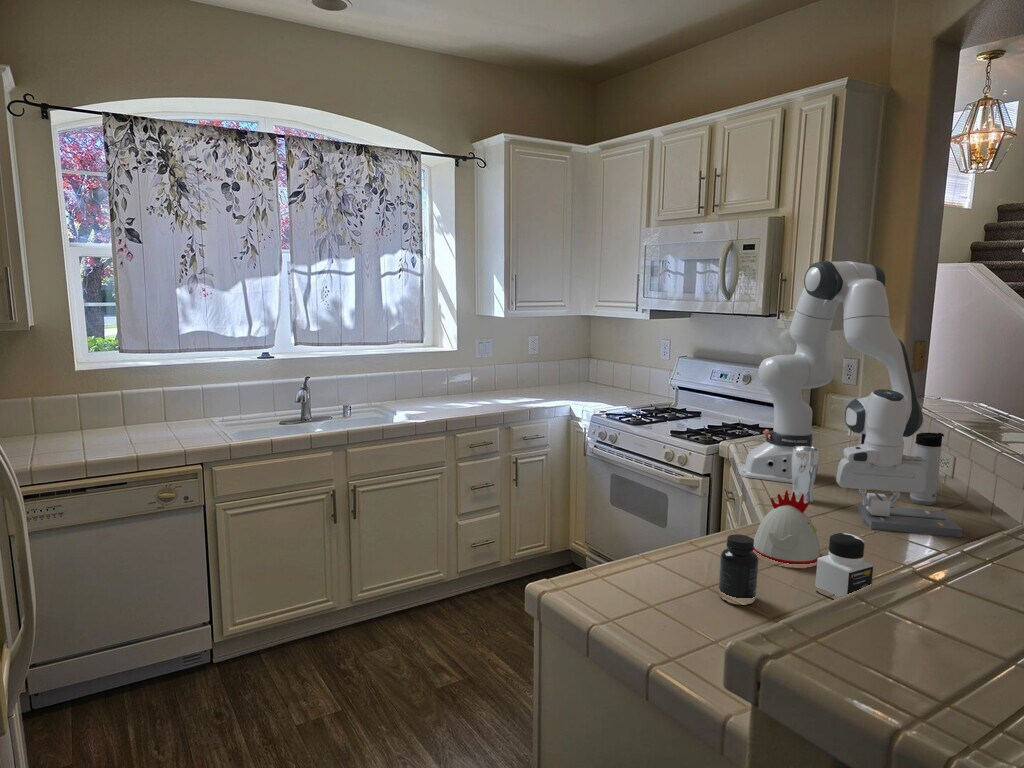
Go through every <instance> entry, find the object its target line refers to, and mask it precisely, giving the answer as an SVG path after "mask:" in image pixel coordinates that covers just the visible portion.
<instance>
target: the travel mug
mask: <svg viewBox="0 0 1024 768" xmlns="http://www.w3.org/2000/svg"><path fill="white" fill-rule="evenodd" d="M915 436H916V437H915V442H914V443H915V445H914V449H913V450H914V453H913V457H916V456H919V457H922V458H923V459H925V460H926V461H927V463H928V468H927V472H926V473H925V476H926V490H925V491H924V492H923V493H922V494H919V493H909V501H910V502H911V503H913V502H914V503H913V504H916V503H917V504H916V505H920V504H921V505H920V506H933V505H936V502H937V499H936V498H937V491H938V482H939V474H940V465H941V457H942V456H941V454H942V445H943V444H942V441H943V437H945V433H942V432H920V433H917V434H916V435H915ZM922 461H923V460H922Z"/></svg>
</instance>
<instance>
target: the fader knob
mask: <svg viewBox="0 0 1024 768" xmlns="http://www.w3.org/2000/svg"><path fill="white" fill-rule="evenodd" d="M866 498H870V500H871V503H870V506H866V508H867V510H868V511H869V512H870V513H871V514H872V515H878V516H889V515H890V504H891V501H890V498H888V497H887V496H886V495H885V494H884V493H877V492H873V493H872V492H867V493H866Z"/></svg>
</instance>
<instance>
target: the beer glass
mask: <svg viewBox="0 0 1024 768" xmlns="http://www.w3.org/2000/svg"><path fill="white" fill-rule="evenodd" d="M819 457H820V456H819V449H818V448H817V447H813V446H812V447H809V446H794V447H793V453H792V460H791V472H792V480H793V483H792V489H791V494H790V497H789V500H791V498H792V494H793V492H795V496H796V501H797V502H799V500H800V498H801V496H802V494H804V503H805V504H806V503H807V502H809V501H810V500H811V501H810V503H809V504H812V503H814V502H813V501H814V499H815V498H814V486H815V482H816V479H817V474H818V470H819Z"/></svg>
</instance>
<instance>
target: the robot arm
mask: <svg viewBox="0 0 1024 768" xmlns="http://www.w3.org/2000/svg"><path fill="white" fill-rule="evenodd" d="M803 284H804V285H803V286H804V288H803V290H802V292H801V294H800V296H799V298H798V301H797V304H796V307H795V311H794V314H793V316H792V320H791V323H790V327H789V331H788V332H789V336H790V338H791V339H792V340H793V341H794V342H795V343H796V350H795V351H794V354H793V353H791V354H777V355H773V356H769V357H767V358H764V359H763V360H762V361H761V363H760V364H759V366H758V370H757V373H758V374H757V375H758V380H759V381H760V383H761V385H762V386H764V387H765V388H766V389H767V390H768V392H769V394H770V397H771V399H772V403H773V411H774V412H773V429H772V430H769V429H767V428H766V429H764V430H763V434H764V436H765V442H762V443H761V444H759V445H758V446H756V447H755V448H753V449H751V450H750V451H749V452H748V454H747V456H746V460H745V463H742V464H740V465H739V466H738V469H737V471H738V473H739V475H741V476H743V477H745V478H749V479H750V478H751V479H758V480H767V481H773V482H780V483H781V482H782V483H788V484H790V483H791V484H793V480H792V472H791V460H792V453H793V447H794V446H809V447H813V434H812V424H813V409H812V407H811V406H810V404H808V403H807V402H805V400H804V399H803V395H802V390H805V389H816V388H820V387H823V386H826V385H828V384H830V383H831V382H832V381H833V379H834V376H835V365H834V362H833V361H832V360H831V358H830V357H829V355H828V339H829V336H830V332H831V329H832V326H833V323H834V320H835V316H836V313H837V309H838V306H839V304H840V303H841V304H842V307H843V320H842V321H843V335H844V338H845V341H846V343H847V345H849V347H851V348H853V349H854V350H855V351H856V352H858V353H861V354H863V355H866V356H867V357H870V358H873V359H876V360H877V361H878V362H881V364H883V365H884V366H885V367H886V369H887V371H888V376H889V380H890V385H891V389H885V388H884V389H882V388H881V389H880V388H879V389H875V390H873V391H871V393H869V395H868V396H865V397H859V398H854V399H852V400H851V401H850V402H849V403H848V404H847V406H846V407H845V411H844V423H845V425H846V426H847V428H848V429H849V430H850V431H851V432H852V433H855V434H859V435H860V434H866V437H865V440H864V444H861V445H859V444H858V445H853V446H848V447H845V448H844V449H843V456H844V457H843V458H841V459H840V461H839V464H838V467H837V472H836V476H835V477H836V478H835V481H836V484H838V486H840V488H843V489H844V488H845V489H846V488H848V489H857V490H858V491H859V494H860V495H861V497H862V504H863V505H864V506H870V503H871V500H870V498H867V495H866V494H867V493H868V491H870V490H871V491H882V492H883V491H884V492H891V494H892V496H891V497H890V498H889V500H890V501H891V504H890V508H894V507H895V503H896V502H897V501H898V499H899V498H900V497H901V493H909V494H910V493H919V494H922V493H923V492H924V491H925V490H926V476H925V473H926V472H927V468H928V463H927V461H926V460H925V459H923V458H922V457H919V456H916V457H914V455H913V456H912V455H911V456H910V455H904V447H905V440H904V438H909V437H911V436H913V435H914V434H915V433H916V432H918V431H919V430H920V428H921V427H922V426H923V422H924V414H923V411H922V407H921V405H920V402H919V399H918V397H917V393H916V388H915V384H914V380H913V375H912V370H911V365H910V361H909V356H908V353H907V349H906V346H905V343H904V342H903V341H902V340H900V339H899V338H898V337H897V336H896V334H895V333H894V331H893V329H892V325H891V318H890V306H889V300H888V295H887V291H886V290H887V289H886V288H885V286H886V275H885V271H884V270H883V269H882V268H881V267H879V266H877V265H875V264H871V263H862V262H856V261H849V260H847V261H829V260H822V261H816V262H814V263H813V264H810V266H809V268H807V270H806V272H805V274H804V280H803ZM922 460H923V461H922Z"/></svg>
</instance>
